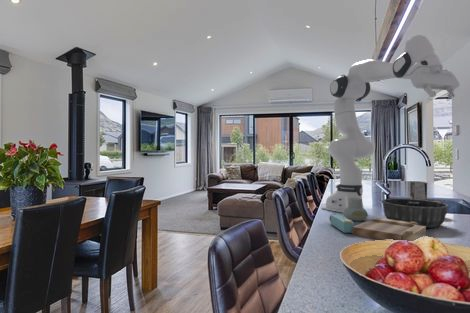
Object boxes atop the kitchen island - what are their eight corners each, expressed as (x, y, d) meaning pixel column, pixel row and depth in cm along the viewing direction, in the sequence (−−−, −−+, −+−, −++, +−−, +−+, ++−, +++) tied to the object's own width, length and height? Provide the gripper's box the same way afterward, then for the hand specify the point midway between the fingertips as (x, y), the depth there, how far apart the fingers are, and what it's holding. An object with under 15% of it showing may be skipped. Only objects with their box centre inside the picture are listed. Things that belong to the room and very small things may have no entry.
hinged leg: (354, 232, 136) (354, 221, 136) (343, 232, 136) (344, 221, 136) (338, 223, 154) (338, 212, 154) (329, 223, 154) (329, 212, 154)
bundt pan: (412, 217, 171) (413, 196, 171) (463, 228, 146) (463, 205, 146) (368, 220, 162) (369, 199, 162) (414, 233, 137) (414, 208, 137)
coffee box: (427, 214, 178) (427, 182, 178) (413, 213, 179) (414, 182, 179) (421, 211, 187) (421, 181, 187) (408, 210, 188) (408, 181, 188)
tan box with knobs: (352, 234, 135) (352, 223, 135) (372, 226, 150) (372, 215, 150) (413, 245, 120) (413, 232, 120) (428, 234, 135) (428, 223, 135)
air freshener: (346, 221, 159) (347, 200, 158) (340, 218, 167) (340, 197, 167) (370, 221, 159) (370, 200, 159) (362, 218, 167) (363, 197, 167)
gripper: (443, 75, 145) (456, 102, 139) (403, 72, 139) (416, 100, 133) (455, 65, 139) (470, 93, 133) (414, 61, 133) (428, 90, 127)
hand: (442, 96), depth 133 cm, fingers open, 8 cm apart
